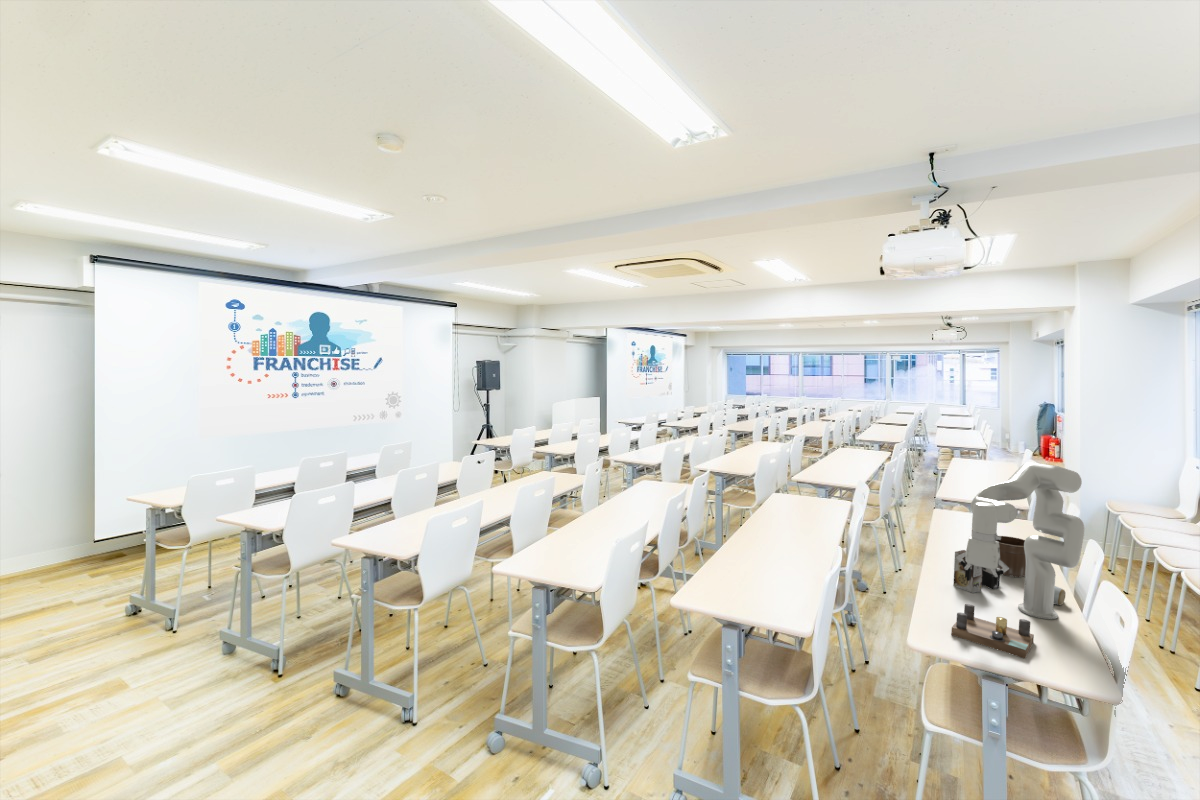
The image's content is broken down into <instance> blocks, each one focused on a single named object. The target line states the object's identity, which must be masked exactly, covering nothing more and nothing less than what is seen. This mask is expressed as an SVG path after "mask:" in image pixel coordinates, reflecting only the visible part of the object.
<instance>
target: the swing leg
mask: <svg viewBox="0 0 1200 800" xmlns="http://www.w3.org/2000/svg"><path fill="white" fill-rule="evenodd" d="M995 623H996V631H992V637H993V638H994V639H997V640H1003V634H1006V632H1007V627H1008V619H1007V618H1005V617H1002V616H997V617H996V619H995Z"/></svg>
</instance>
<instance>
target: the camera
mask: <svg viewBox="0 0 1200 800" xmlns="http://www.w3.org/2000/svg"><path fill="white" fill-rule="evenodd" d="M997 570H998V571H999V570H1000V569H999V568H997ZM992 576H993V573H992V571H991V569H988V568H984V567H983V570H982V585H983V586H984V587H986V588H988V589H990V590H1000V578H1001V577H1000V576H1001V575H999V576H998V583H997V585H995V586H994V587H992V586H991V583H992Z"/></svg>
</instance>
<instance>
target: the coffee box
mask: <svg viewBox="0 0 1200 800" xmlns="http://www.w3.org/2000/svg"><path fill="white" fill-rule="evenodd" d="M965 552H966V550H965V549H962V550H961V549H960V550H957V551H954V562H953V563H954V565H953V567H954V568H953V587H956V588H958V589H961V590H964V591H965V592H966V591H967V592H969V593H972V594H974V593H979V592H980V593H981V592H982V570H983V567H979V566H975V565H971V567H970V569H971V579H970V580H969V581H967V578H966V577H965V569H964V567H963V566H962V565H961V564H960V562H959V561H958V559H957V558H956V557H957V556H958V555H961V554H963V553H965ZM962 559H963V560H964V561H965V557H963V558H962ZM965 562H966V561H965ZM966 563H967V562H966ZM967 564H968V563H967Z"/></svg>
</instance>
